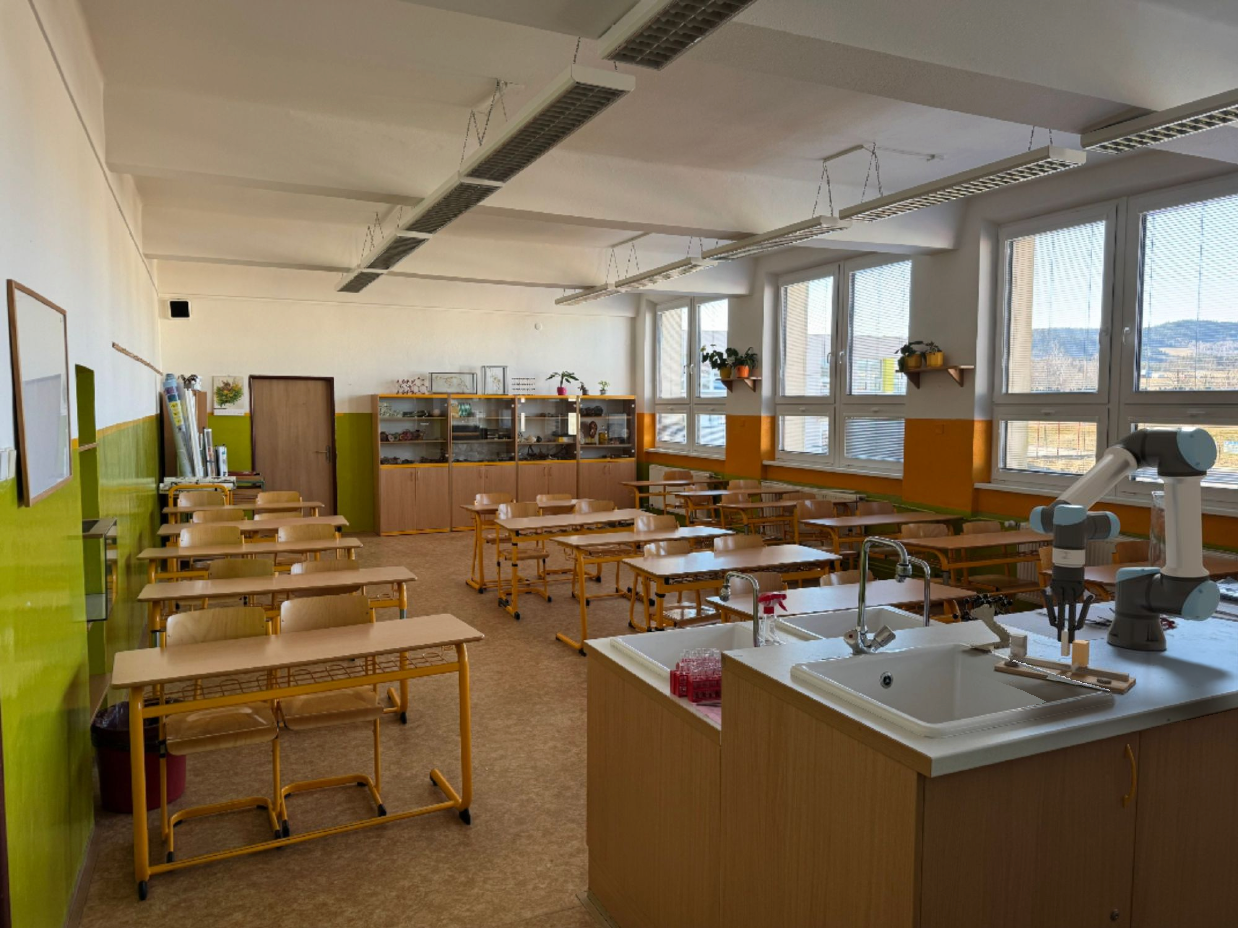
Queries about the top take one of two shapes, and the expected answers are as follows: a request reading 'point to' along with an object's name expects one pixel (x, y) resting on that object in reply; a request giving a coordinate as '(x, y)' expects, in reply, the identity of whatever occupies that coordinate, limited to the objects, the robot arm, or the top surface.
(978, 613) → the jawbone
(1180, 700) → the top surface
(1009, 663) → the gauge board
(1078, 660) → the block
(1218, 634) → the top surface
